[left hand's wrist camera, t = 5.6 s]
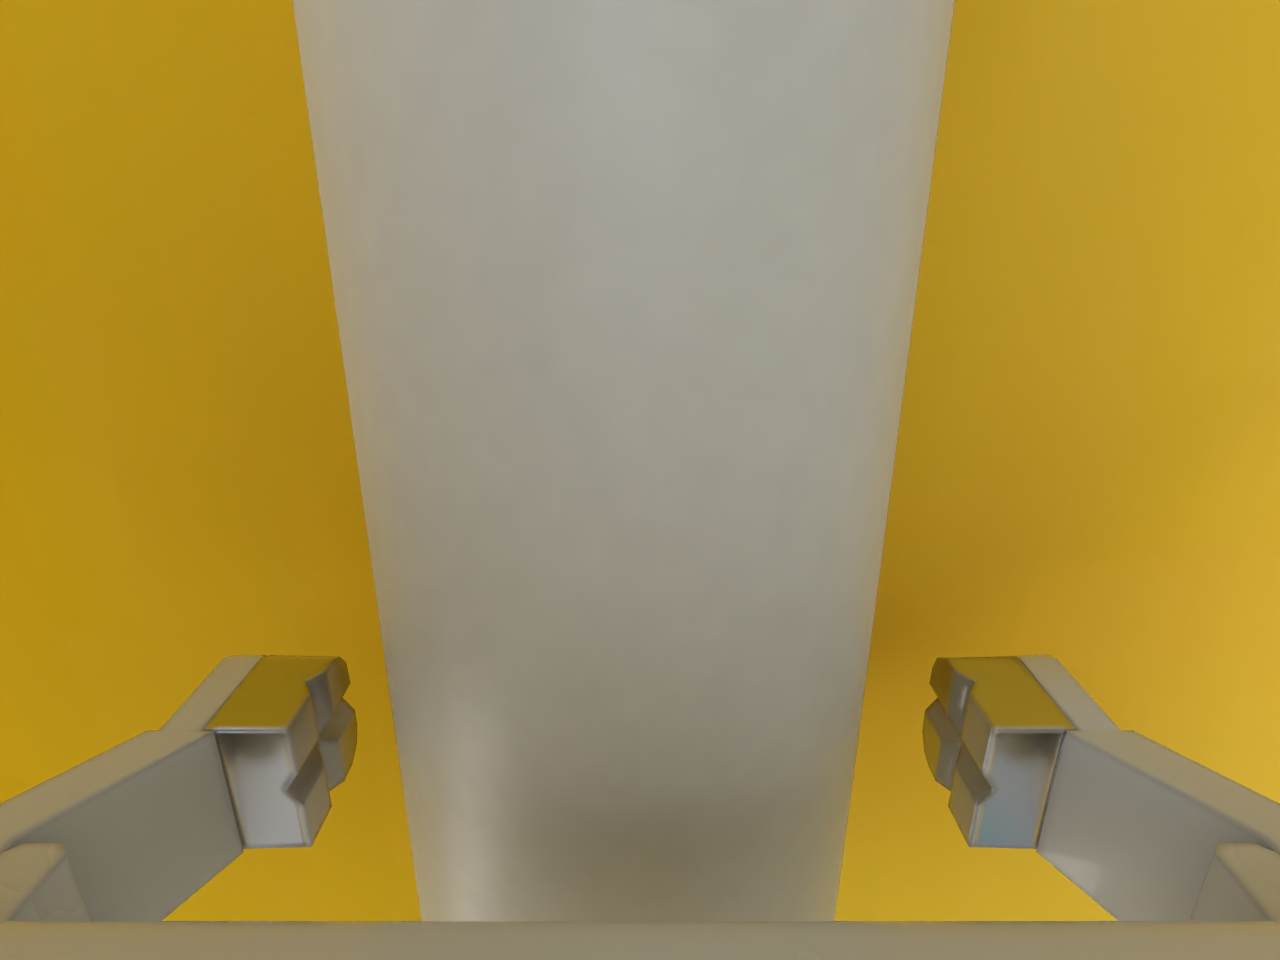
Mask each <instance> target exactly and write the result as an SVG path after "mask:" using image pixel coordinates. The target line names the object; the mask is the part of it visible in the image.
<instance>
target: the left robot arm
mask: <svg viewBox="0 0 1280 960" xmlns="http://www.w3.org/2000/svg"><path fill="white" fill-rule="evenodd" d="M349 685H350V679H349V674H348V669H347V665H346V662H345V661H344V660H343V659H342V658H341V657H330V656H283V655H269V656H266V655H233V656H229V657H226V658H224V659H223V660H222V661H221V662H220V663H219V664H218V665H217V666H216V667H215V669H214V670H213V671H212V672H211V673H210V674H209V675H208V676H207V678H206V679H205V680H204V681H203V682H202V683H201V684H200V685H199V687H198V688H197V689H196V690H195V691H194V692H193V693H192V694H191V696H190V697H189V698H188V699H187V700H186V701H185V702H184V703H183V704H182V706H181V707H180V708H179V709H178V710H177V711H176V712H175V713H174V715H173V716H172V717H171V718H170V719H169V720H168V721H167V722H166V724H165V725H164V726H163V727H162V728H161V729H160V730H159V731H146V732H144V733H142V734H140V735H138V736H136V737H134V738H132V739H130V740H127V741H125V742H123V743H121V744H119V745H117V746H115V747H113V748H111V749H109V750H107V751H105V752H103V753H101V754H99V755H97V756H95V757H93V758H91V759H89V760H87V761H85V762H83V763H81V764H79V765H77V766H75V767H73V768H71V769H69V770H67V771H65V772H63V773H61V774H59V775H57V776H55V777H53V778H51V779H49V780H47V781H45V782H43V783H41V784H39V785H37V786H35V787H33V788H31V789H29V790H27V791H25V792H23V793H21V794H19V795H17V796H15V797H13V798H11V799H9V800H7V801H5V802H3V803H1V804H0V960H1280V804H1279V803H1277V802H1275V801H1273V800H1271V799H1269V798H1267V797H1265V796H1263V795H1261V794H1259V793H1257V792H1255V791H1253V790H1251V789H1249V788H1247V787H1245V786H1243V785H1241V784H1239V783H1237V782H1235V781H1233V780H1231V779H1229V778H1227V777H1225V776H1223V775H1221V774H1219V773H1217V772H1215V771H1213V770H1211V769H1209V768H1207V767H1205V766H1203V765H1201V764H1199V763H1197V762H1195V761H1193V760H1191V759H1189V758H1187V757H1185V756H1183V755H1181V754H1179V753H1177V752H1175V751H1173V750H1171V749H1169V748H1166V747H1164V746H1162V745H1160V744H1158V743H1156V742H1154V741H1152V740H1150V739H1148V738H1146V737H1144V736H1142V735H1140V734H1138V733H1136V732H1134V731H1121V730H1120V729H1119V728H1118V727H1117V726H1116V725H1115V724H1114V722H1113V721H1112V720H1111V719H1110V718H1109V717H1108V716H1107V715H1106V713H1105V712H1104V711H1103V710H1102V709H1101V708H1100V707H1099V706H1098V704H1097V703H1096V702H1095V701H1094V700H1093V699H1092V698H1091V697H1090V696H1089V694H1088V693H1087V692H1086V691H1085V690H1084V689H1083V688H1082V687H1081V685H1080V684H1079V683H1078V682H1077V681H1076V680H1075V679H1074V678H1073V676H1072V675H1071V674H1070V673H1069V672H1068V671H1067V670H1066V669H1065V667H1064V666H1063V665H1062V664H1061V663H1060V662H1059V661H1058V660H1057V659H1056V658H1054V657H1052V656H1050V655H1019V656H1010V657H950V658H937V659H936V661H935V663H934V666H933V668H932V673H931V679H930V685H931V686H932V688H933V690H934V692H935V693H936V695H937V697H938V698H937V699H936V700H935V701H934V702H933V703H932V704H931V705H930V706H929V707H928V708H927V709H926V710H925V716H924V724H923V741H924V751H925V755H926V758H927V762H928V765H929V768H930V770H931V772H932V774H933V776H934V778H935V780H936V781H937V782H938V783H940V784H941V785H943V786H944V787H945V788H947V789H948V790H950V791H951V794H950V799H949V805H948V807H949V809H950V811H951V813H952V815H953V816H954V818H955V820H956V822H957V824H958V826H959V828H960V830H961V832H962V834H963V836H964V838H965V840H966V842H967V844H968V846H969V847H996V848H1032V849H1037V851H1036V852H1037V853H1039V854H1040V855H1041V856H1042V857H1043V858H1044V859H1046V860H1047V861H1048V862H1049V863H1050V864H1052V865H1053V866H1054V867H1055V868H1056V869H1058V870H1059V871H1060V872H1061V873H1062V874H1064V875H1065V876H1066V877H1067V878H1068V879H1070V880H1071V881H1072V882H1073V883H1074V884H1075V885H1077V886H1078V887H1079V888H1080V889H1081V890H1083V891H1084V892H1085V893H1086V894H1087V895H1089V896H1090V897H1091V898H1092V899H1093V900H1095V901H1096V902H1097V903H1098V904H1099V905H1101V906H1102V907H1103V908H1104V909H1105V910H1107V911H1108V912H1109V913H1110V914H1111V915H1112V916H1114V917H1115V918H1116V919H1117V920H1118V921H162V920H163V919H164V918H165V917H167V916H168V915H169V914H170V913H171V912H173V911H174V910H175V909H176V908H177V907H178V906H180V905H181V904H182V903H183V902H184V901H186V900H187V899H188V898H189V897H190V896H192V895H193V894H194V893H195V892H196V891H198V890H199V889H200V888H201V887H202V886H204V885H205V884H206V883H207V882H208V881H210V880H211V879H212V878H213V877H214V876H216V875H217V874H218V873H219V872H220V871H222V870H223V869H224V868H225V867H226V866H228V865H229V864H230V863H231V862H232V861H233V860H235V859H236V858H237V857H238V856H239V855H241V854H242V853H243V849H248V848H283V847H311V846H312V844H313V842H314V840H315V838H316V836H317V834H318V832H319V830H320V828H321V826H322V824H323V822H324V820H325V818H326V817H327V815H328V813H329V811H330V809H331V807H332V805H331V799H330V794H329V791H330V790H332V789H333V788H335V787H336V786H337V785H339V784H340V783H342V782H343V781H344V780H345V778H346V776H347V774H348V772H349V770H350V768H351V766H352V763H353V758H354V753H355V749H356V744H357V722H356V715H355V710H354V709H353V708H352V707H351V706H350V705H349V704H348V703H347V702H346V701H345V700H344V699H343V698H342V697H343V695H344V693H345V692H346V690H347V688H348V686H349Z"/></svg>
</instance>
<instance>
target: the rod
mask: <svg viewBox="0 0 1280 960" xmlns="http://www.w3.org/2000/svg"><path fill="white" fill-rule="evenodd" d="M292 1H293V8H294V15H295V22H296V30H297V37H298V44H299V51H300V58H301V65H302V72H303V79H304V87H305V94H306V101H307V108H308V115H309V122H310V129H311V136H312V144H313V151H314V158H315V165H316V172H317V179H318V186H319V193H320V201H321V208H322V215H323V222H324V229H325V236H326V243H327V250H328V258H329V265H330V272H331V279H332V286H333V293H334V300H335V307H336V315H337V322H338V329H339V336H340V343H341V350H342V357H343V364H344V372H345V379H346V386H347V393H348V400H349V407H350V414H351V421H352V429H353V436H354V443H355V450H356V457H357V464H358V471H359V478H360V486H361V493H362V500H363V507H364V514H365V521H366V528H367V535H368V543H369V550H370V557H371V564H372V571H373V578H374V585H375V592H376V600H377V607H378V614H379V621H380V628H381V635H382V642H383V649H384V657H385V664H386V671H387V678H388V685H389V692H390V699H391V706H392V714H393V721H394V728H395V735H396V742H397V749H398V756H399V763H400V771H401V778H402V785H403V792H404V799H405V806H406V813H407V820H408V828H409V835H410V842H411V849H412V856H413V863H414V870H415V877H416V885H417V892H418V899H419V906H420V913H421V920H422V921H834V920H835V912H836V905H837V897H838V889H839V882H840V874H841V866H842V859H843V851H844V843H845V836H846V828H847V821H848V813H849V805H850V798H851V790H852V782H853V775H854V767H855V759H856V752H857V744H858V736H859V729H860V721H861V714H862V706H863V698H864V691H865V683H866V675H867V668H868V660H869V652H870V645H871V637H872V629H873V622H874V614H875V607H876V599H877V591H878V584H879V576H880V568H881V561H882V553H883V545H884V538H885V530H886V522H887V515H888V507H889V499H890V492H891V484H892V477H893V469H894V461H895V454H896V446H897V438H898V431H899V423H900V415H901V408H902V400H903V392H904V385H905V377H906V370H907V362H908V354H909V347H910V339H911V331H912V324H913V316H914V308H915V301H916V293H917V285H918V278H919V270H920V263H921V255H922V247H923V240H924V232H925V224H926V217H927V209H928V201H929V194H930V186H931V178H932V171H933V163H934V156H935V148H936V140H937V133H938V125H939V117H940V110H941V102H942V94H943V87H944V79H945V71H946V64H947V56H948V49H949V41H950V33H951V26H952V18H953V10H954V3H955V0H292Z"/></svg>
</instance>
